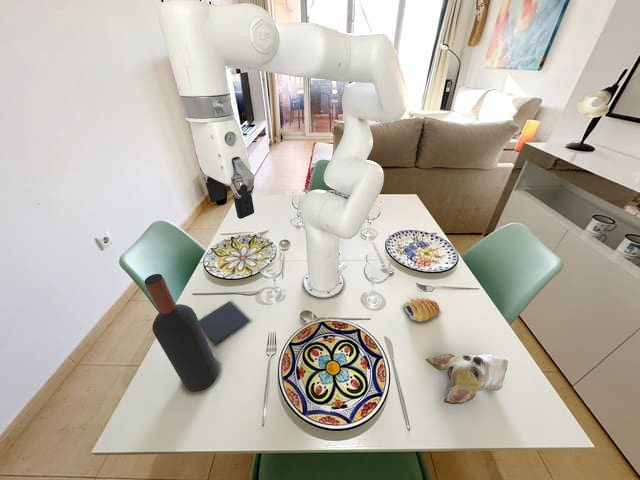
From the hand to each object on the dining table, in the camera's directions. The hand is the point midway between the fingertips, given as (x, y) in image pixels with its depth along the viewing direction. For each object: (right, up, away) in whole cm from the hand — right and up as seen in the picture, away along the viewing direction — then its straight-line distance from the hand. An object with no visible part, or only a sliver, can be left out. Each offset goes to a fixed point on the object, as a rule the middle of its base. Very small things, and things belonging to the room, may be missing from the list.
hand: (231, 207), depth 51 cm
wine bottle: (-11, -38, +11) cm, 41 cm away
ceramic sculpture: (+49, -38, +9) cm, 62 cm away
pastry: (+45, -27, +25) cm, 58 cm away
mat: (-10, -29, +24) cm, 39 cm away
